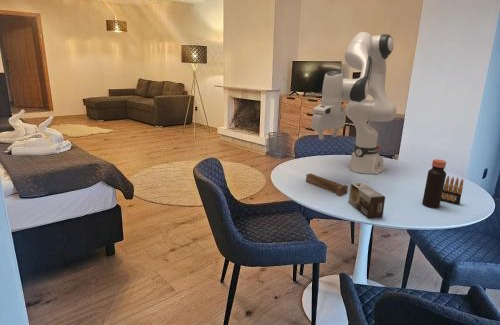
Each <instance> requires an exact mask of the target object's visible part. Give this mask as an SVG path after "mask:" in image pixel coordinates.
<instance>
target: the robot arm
mask: <svg viewBox="0 0 500 325" xmlns="http://www.w3.org/2000/svg"><path fill="white" fill-rule="evenodd" d="M393 50H394V39H393V37H392V36H391V34H385V33H382V34H381V35H379V34H378V35H377V34H376V35H371V33H369V32H367V31H361V32H358V33H357V34H356V35H354V37H353V38H352V39H351V40H350V42H349V44H348V46H347V48H346V50H345V53H344V61H345V62H346V64H347V65H348V66H349V67H350V68H352V69H356V70H358V71H360V74H359V75H360V76H359V77H358V78H346V77H345V78H344V73H343V72H342V71H341V70H329V71H327V72H326V73H325V74H324V78H323V83H322V88H321V89H322V90H321V94H322V97H321V100H320V101H321V102H320V103H319V104H318V105H317V106H315V107H313V108H312V112H313V114H312V118H311V129H312V130H313V131H317V134H318V139H319V140H324V138H325V135H324V134H323V133H324V131H325V130H326V131H327V130H331V129H334V130H333V132H332V133H331V137H333V138H336V137H338V132H339V131H340V128H342V127H343V128H344V127H345V125H346V117H347V118H348V119H349V120H350V121H352V123H353V125H354V128H355V131H356V132H355V134H356V136H355V144H354V146H353V152H352V153H351V157H350V162H349V163H348V165H347V166H348V168H349V170H350V171H352V172H355V173H358V174H367V175H369V174H370V175H379V174H380V173H382V172H384V171H385V170H387V166H386V165H383V164H384V160H383V159H384V158H383V157H382V156H381V155H380V154H379V153H378V150H381V145H380V146H379V145H378V144H377V143H378V136H379V133H378V131H377V130H376V129H375V128H374V127H372V126H370V125H369V123H368V122H377V123H378V122H381V123H383V122H385V123H386V122H392V121H393V120H394V118H395V117H396V115H397V107H396V105H395V104H394V103H393V101H392V100H390V99H389V97H388V95H387V92H386V76H387V59H388V58H389V56H391V54H392V52H393ZM368 95H369V96H370V97H371V98H372V99H370V100H369V99H367V98H368ZM342 101H349V102H348V103H347V104H346V105H345V108H344V107H343V106H342Z"/></svg>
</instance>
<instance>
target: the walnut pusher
mask: <svg viewBox="0 0 500 325" xmlns="http://www.w3.org/2000/svg"><path fill="white" fill-rule="evenodd" d="M305 182H306V183H308V184H310V185H312V186H315V187H318V188H321V189H324V190H325V191H329V192H330V193H334V194H335V195H336V196H337V197H341V196H343V195H346V194H348V191H349V185H348V184H341V183H338V182H335V181H333V180H330V179H327V178H324V177H322V176H318V175H316V174H314V173H312V172H311V173H307V174H306V176H305Z"/></svg>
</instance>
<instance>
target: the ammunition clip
mask: <svg viewBox="0 0 500 325" xmlns="http://www.w3.org/2000/svg"><path fill="white" fill-rule="evenodd" d="M454 177H455V176H452V177H451V178H450V175H448V176H446V178H445V183H444V188H443V193H442V198H441V202H443V203H447V204H450V205H451V204H452V205H456V206H460V204H461V197H462V193H463V188H464V178H461V180H460V182H459V177H457V178H456V179H455V178H454Z"/></svg>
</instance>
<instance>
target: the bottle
mask: <svg viewBox="0 0 500 325" xmlns="http://www.w3.org/2000/svg"><path fill="white" fill-rule="evenodd" d="M446 165H447V161H445V160H442V159H433V160H432V164H431V168H430V169H429V170H428V171H427V172H428V173H427V175H426V176H427V177H426V182H425V185H424V186H425V187H424V191H423V197H422V202H421V204H422V205H423V206H424V207H426V208H430V209H439V208H440V206H441V202H442V201H441V198H442V193H443V188H444V185H445V183H446V179H447V172H446V171H445V170H444V169H446Z"/></svg>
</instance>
